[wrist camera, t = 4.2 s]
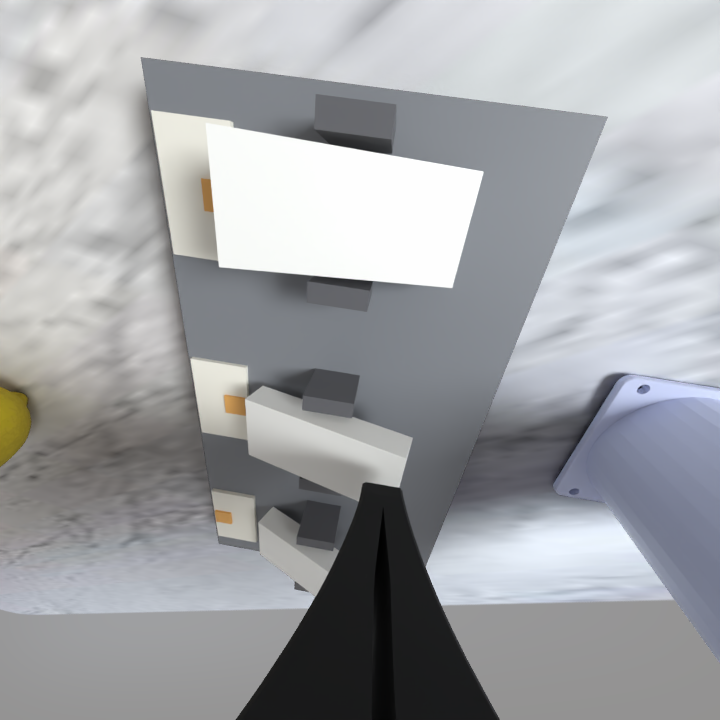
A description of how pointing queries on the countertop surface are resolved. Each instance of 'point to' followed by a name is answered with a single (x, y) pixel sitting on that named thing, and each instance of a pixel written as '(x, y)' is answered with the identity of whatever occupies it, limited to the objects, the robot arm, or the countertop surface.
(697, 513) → the robot arm
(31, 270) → the countertop surface
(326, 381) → the switch panel
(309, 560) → the switch
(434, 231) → the switch
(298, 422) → the switch mid
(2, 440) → the lemon
